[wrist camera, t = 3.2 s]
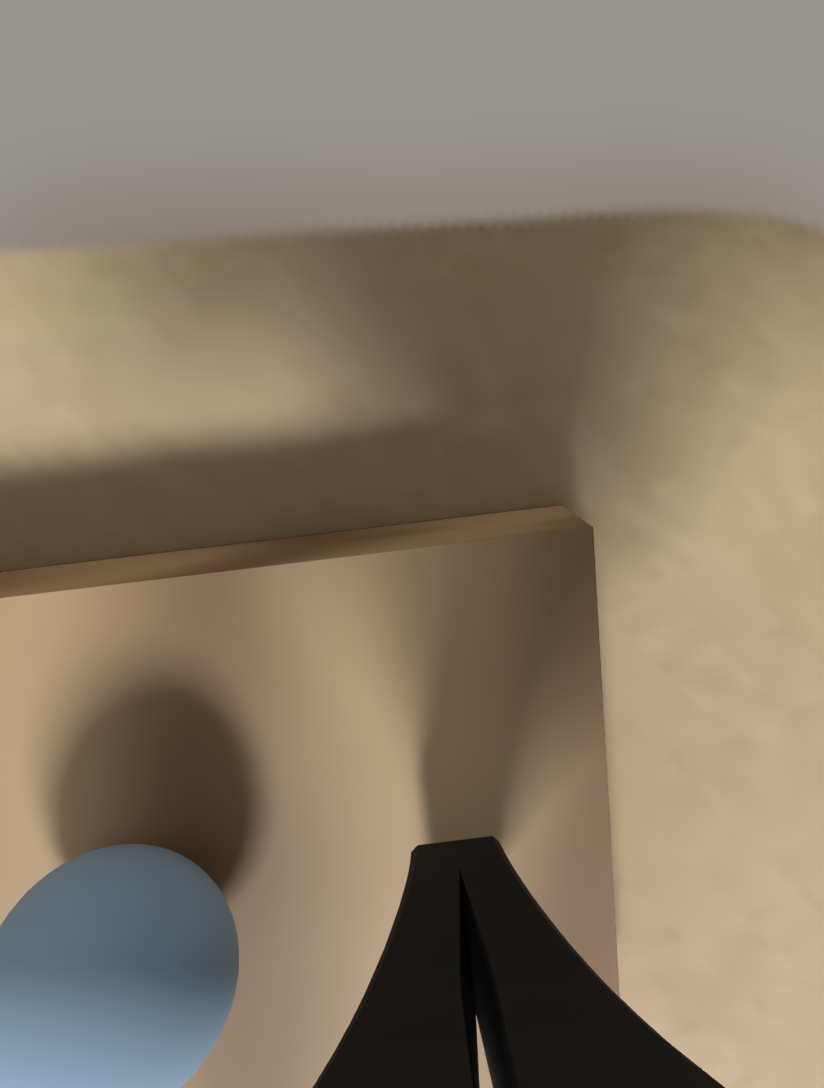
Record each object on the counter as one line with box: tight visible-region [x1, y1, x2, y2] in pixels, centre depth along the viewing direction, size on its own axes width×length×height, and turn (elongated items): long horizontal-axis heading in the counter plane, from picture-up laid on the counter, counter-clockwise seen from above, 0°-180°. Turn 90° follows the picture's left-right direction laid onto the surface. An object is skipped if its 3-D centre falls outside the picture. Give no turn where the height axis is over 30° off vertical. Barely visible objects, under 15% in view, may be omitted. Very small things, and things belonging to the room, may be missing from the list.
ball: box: [0, 844, 239, 1088], centre depth 11 cm, size 4×4×4 cm
